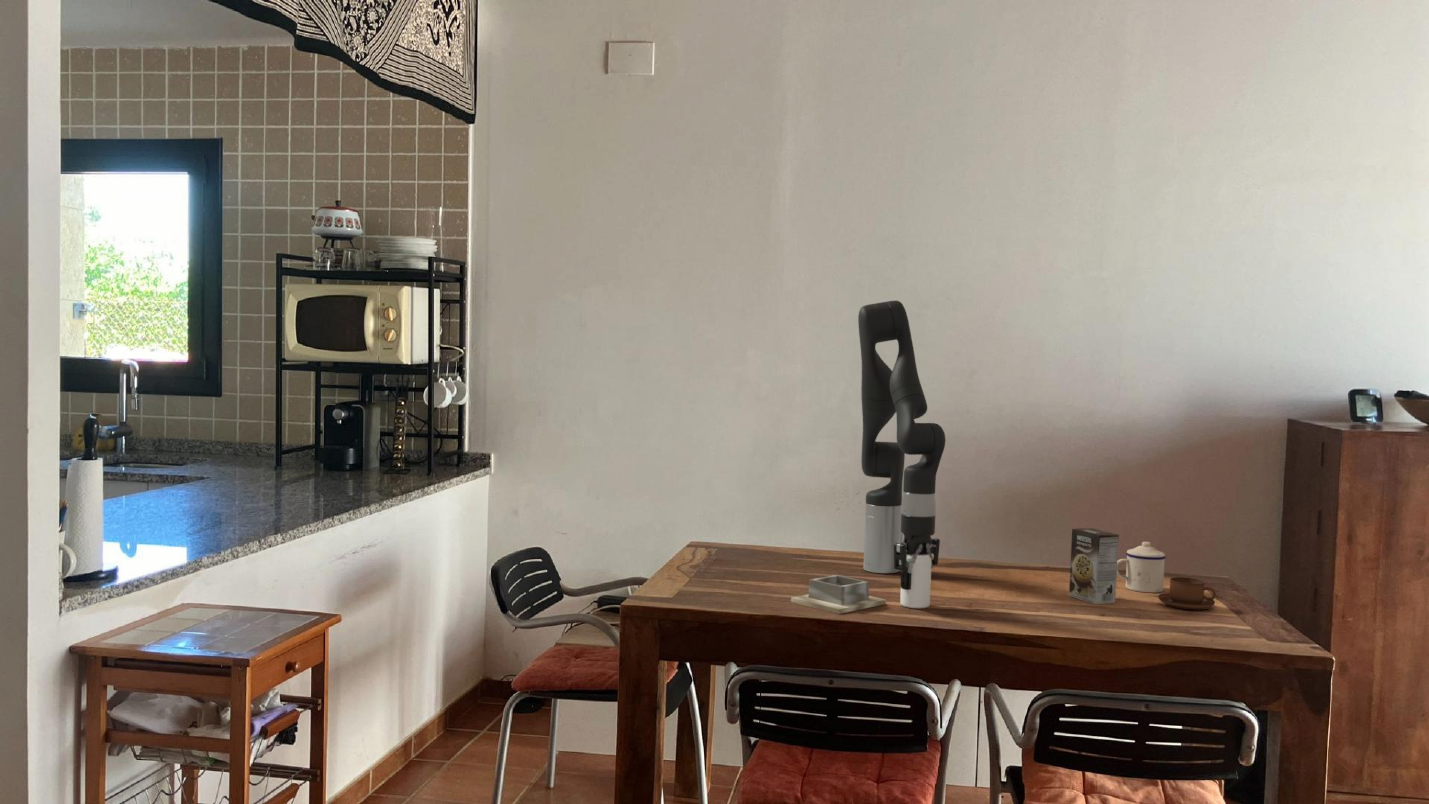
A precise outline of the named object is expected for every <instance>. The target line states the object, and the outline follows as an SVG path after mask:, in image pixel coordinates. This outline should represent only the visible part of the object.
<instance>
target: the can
mask: <svg viewBox="0 0 1429 804" xmlns="http://www.w3.org/2000/svg"><path fill="white" fill-rule="evenodd" d="M929 554H930V553H929ZM929 554H922V555H917V559H916V562H915V563H914V564H913V567H912V570H911V589H910V590H905V589H902V588H901V587H900V600H899V601H900V602H899V603H900V604H901V606H902V607H904V608H906V609H914V610H923V609H928V608H929V607H930V602H931V586H932V585H931V583H932V582H931V581H932V579H931V578H932V569H931V558H930V556H929ZM912 557H913V555H907V554H906V558H912ZM908 564H909V562H906V567H907V566H908Z"/></svg>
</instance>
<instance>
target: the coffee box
mask: <svg viewBox="0 0 1429 804" xmlns="http://www.w3.org/2000/svg"><path fill="white" fill-rule="evenodd" d="M1119 541H1120V534H1117V533H1113V532H1109V531H1105V530H1101V529H1096V528H1093V527H1092V528H1085V527H1083V528H1081V527H1080V528H1077V527H1076V528H1072V529H1071V545H1070V546H1071V548H1070V568H1069V569H1070V571H1069V586H1068V587H1069V588H1068V589H1069V591H1068V596H1069V597H1071V598H1074V599H1077V600H1081V601H1084V602H1087V603H1089V604H1093V605H1104V604H1115V603H1116V592H1117V591H1116V589H1117V577H1118V576H1117V561H1118V560H1119V559H1118V558H1119V557H1118V556H1119V543H1120V542H1119Z"/></svg>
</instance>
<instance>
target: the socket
mask: <svg viewBox="0 0 1429 804" xmlns="http://www.w3.org/2000/svg"><path fill="white" fill-rule="evenodd" d="M790 603H793V604H797V605H802V606H806V607H808V608H809V607H810V608H814V609H817V610H820V611H821V610H822V611H825V612H829V613H833V614H837V615H841V614H845V613H851V612H854V611H855V612H857V611H859V610H865V609H868V608H873V607H878V606H882V605H886V603H887V599H884V598H881V597H875V596H873V595H872V596H871V595H870V581H866V580H862V579H858V578H854V577H850V576H849V577H848V576H844V575H839V574H833V575H828V576H822V577H818V578H817V577H816V578H812V579H811V578H810V579H809V580H808V594H802V595H798V596H792V597H790Z"/></svg>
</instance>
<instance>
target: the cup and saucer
mask: <svg viewBox="0 0 1429 804" xmlns="http://www.w3.org/2000/svg"><path fill="white" fill-rule="evenodd" d="M1205 584H1206V582H1205V581H1204V580H1202V579H1198V578H1194V577H1193V578H1192V577H1184V576H1183V577H1181V576H1179V577H1178V576H1177V577H1171V578H1169V592H1166V593H1161V594H1159V595H1158V596H1157V598H1158V599H1159V601H1160V602H1161V603H1163V604H1165V605H1167V606H1169V607H1172V608H1177V609H1183V610H1191V611H1192V610H1193V611H1194V610H1195V611H1197V610H1206V609H1210V608H1212V607H1213V606H1214V605H1215V603H1216V601H1215V598H1216V597H1217V591H1216V590H1215V588H1213V587H1211V586H1206V585H1205ZM1205 591H1211V592H1212V596H1210V597H1208V596H1206V595H1205Z"/></svg>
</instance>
